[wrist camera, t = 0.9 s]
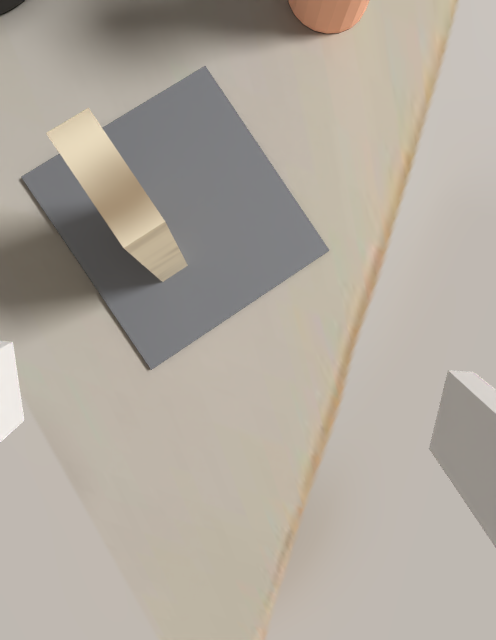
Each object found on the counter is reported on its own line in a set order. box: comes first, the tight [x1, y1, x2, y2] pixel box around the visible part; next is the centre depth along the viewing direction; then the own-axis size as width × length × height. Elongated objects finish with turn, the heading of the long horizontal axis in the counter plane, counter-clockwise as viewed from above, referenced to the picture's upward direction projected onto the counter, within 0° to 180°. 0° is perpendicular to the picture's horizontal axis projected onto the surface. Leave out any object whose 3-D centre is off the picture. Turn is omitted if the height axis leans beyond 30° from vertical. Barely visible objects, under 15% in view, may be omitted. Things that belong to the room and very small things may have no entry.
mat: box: [21, 66, 329, 370], centre depth 31 cm, size 19×18×1 cm
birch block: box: [46, 108, 188, 282], centre depth 25 cm, size 7×2×12 cm, turn 34°
